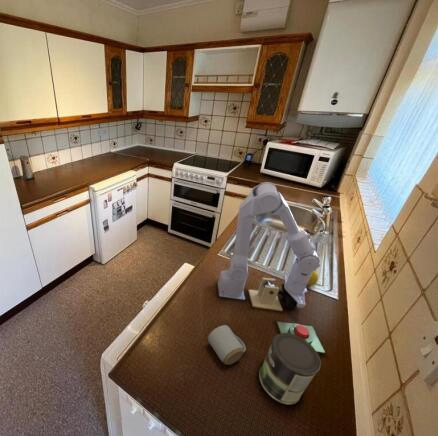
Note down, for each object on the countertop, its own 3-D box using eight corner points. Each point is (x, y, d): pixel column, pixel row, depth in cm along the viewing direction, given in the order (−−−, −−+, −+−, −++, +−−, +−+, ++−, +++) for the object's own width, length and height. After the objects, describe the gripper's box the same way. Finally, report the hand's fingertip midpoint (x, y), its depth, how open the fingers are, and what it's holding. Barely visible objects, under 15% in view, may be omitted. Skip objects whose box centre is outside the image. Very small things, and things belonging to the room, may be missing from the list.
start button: (296, 337, 73) (298, 334, 72) (292, 327, 76) (294, 323, 75) (309, 339, 73) (311, 336, 72) (304, 329, 76) (306, 325, 75)
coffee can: (257, 392, 62) (272, 361, 55) (260, 357, 70) (273, 326, 63) (302, 413, 58) (324, 382, 51) (299, 374, 66) (318, 342, 60)
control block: (284, 349, 73) (287, 342, 71) (275, 323, 80) (278, 317, 79) (323, 355, 71) (327, 349, 70) (311, 328, 79) (314, 323, 77)
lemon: (316, 291, 94) (323, 275, 90) (300, 288, 95) (307, 273, 91) (310, 281, 98) (317, 266, 95) (296, 279, 99) (302, 264, 95)
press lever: (288, 299, 88) (294, 294, 87) (291, 305, 86) (297, 300, 84) (262, 284, 87) (268, 279, 86) (264, 290, 85) (270, 285, 83)
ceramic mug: (222, 370, 67) (227, 354, 63) (205, 345, 73) (209, 328, 70) (251, 356, 71) (257, 340, 67) (232, 333, 77) (237, 317, 73)
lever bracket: (275, 295, 92) (282, 276, 87) (281, 312, 85) (289, 293, 80) (248, 291, 93) (253, 273, 89) (252, 307, 86) (258, 289, 82)
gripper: (320, 296, 75) (306, 324, 81) (302, 266, 87) (291, 292, 94) (296, 293, 76) (284, 321, 82) (282, 263, 88) (272, 290, 95)
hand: (286, 306), depth 88 cm, fingers closed on press lever, 3 cm apart
